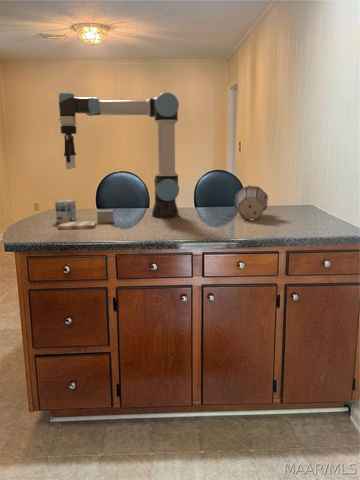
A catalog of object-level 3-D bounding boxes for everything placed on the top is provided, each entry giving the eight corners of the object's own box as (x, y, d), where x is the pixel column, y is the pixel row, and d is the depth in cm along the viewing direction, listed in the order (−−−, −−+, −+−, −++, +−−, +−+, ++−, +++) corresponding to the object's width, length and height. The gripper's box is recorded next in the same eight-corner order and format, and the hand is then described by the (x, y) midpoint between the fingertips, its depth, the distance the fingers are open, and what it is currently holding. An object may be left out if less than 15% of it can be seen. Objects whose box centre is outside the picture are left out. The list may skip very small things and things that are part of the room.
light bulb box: (67, 222, 216) (66, 202, 213) (55, 222, 217) (54, 202, 214) (76, 219, 226) (75, 199, 223) (65, 219, 227) (64, 199, 225)
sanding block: (113, 220, 221) (112, 209, 219) (113, 222, 216) (112, 211, 215) (98, 221, 220) (97, 210, 219) (97, 223, 215) (96, 211, 214)
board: (95, 224, 211) (95, 221, 211) (94, 228, 200) (93, 225, 200) (61, 225, 209) (61, 222, 209) (58, 229, 198) (58, 226, 198)
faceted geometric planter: (269, 193, 211) (265, 175, 237) (234, 195, 213) (234, 177, 240) (269, 225, 218) (265, 204, 245) (235, 226, 221) (235, 205, 248)
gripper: (64, 126, 218) (67, 167, 222) (56, 124, 193) (59, 170, 198) (79, 126, 218) (81, 167, 223) (72, 124, 194) (75, 169, 199)
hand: (71, 168), depth 211 cm, fingers open, 13 cm apart
